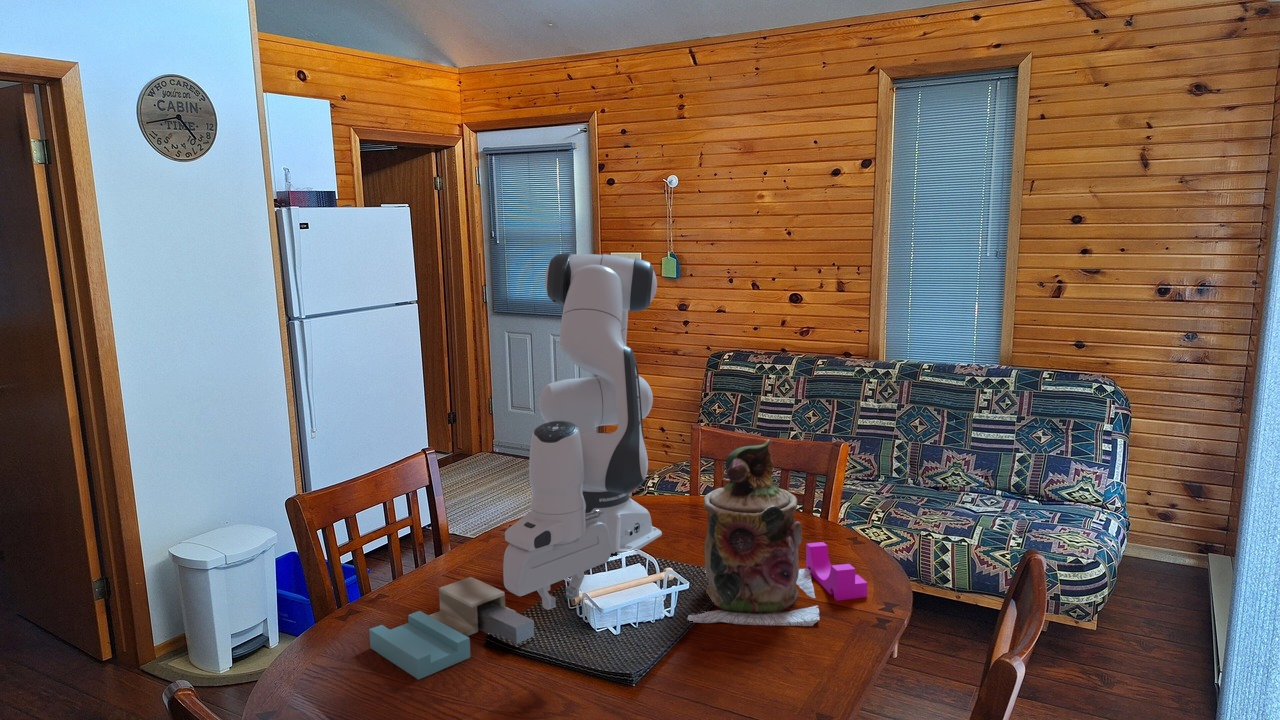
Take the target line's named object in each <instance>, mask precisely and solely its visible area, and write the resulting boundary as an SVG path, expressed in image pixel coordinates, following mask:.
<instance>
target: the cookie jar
mask: <svg viewBox="0 0 1280 720" xmlns="http://www.w3.org/2000/svg"><path fill="white" fill-rule="evenodd" d="M770 443H771V439H770V438H769V439H767V440H766V441H765V442H764V443H763V444H757V445H746V446H741V447H737V448H735V449H733V450H732V451H731V452H730V453H729V454H728V455H727V457H726V460H725V470H726V471H725V472H726V476H727V477H728V479H729V482H727V484H725V486H723V487H718V488H716V489H714V490H712V491H710V492H709V493H707V494H706V495H705V496H704V497H703V505H704V506H703V507H704V509H705V511H706V512H707V518H706V519H707V520H706V521H707V527H706V529H707V531H706V537H705V540H704V560H705V561H704V569H705V573H706V578H707V579H708V585H707V587H706V590H705V591H706V592H705V593H706V595H707V594H708V596H709V597H710V599H711V600H712V601H713V602H714V604H713V605H714V606H716V607H718V608H719V609H716V610H711V611H709V610H707V612H706V611H704V612H705V613H702V614H698V615H688V616H687V621H688V620H689V621H693V622H692V623H697V624H698V623H699V624H717V623H726V624H734V625H743V626H744V625H745V626H746V625H747V626H748V625H749V626H751V625H752V626H787V627H788V626H789V627H792V626H793V627H794V626H795V627H796V626H800V627H808V626H809V627H813V626H814V625H815V624H816V623H817V622H819V621H820V609H819V605H813V606H809V607H803V608H799V609H794V610H789V611H785V610H786V609H789V608H791V607H792V606H793V605H794V604H795V602H796V601H797V600H798V598H799V590H798V588H797V586H798V587H799V589H801V590H802V591H803V592H804V593H805V594H806V596H807V597H810V598H813V599H816V595H815V588H814V584H813V582H812V575H811V570H810V569H806V568H800V567H799V546H800V545H801V544H802V538H803V536H802V523H801V522H800V521H797V520H796V521H795V517H794V513H795V512H797V508H798V498H797V497H796V495H794V494H793V493H791V492H789V491H788V490H786V489H783V488H779V487H777V486H776V485H775V483H774V480H773V478H772V476H773V470H774V468H773V467H774V461H773V460H772V459H771V455H772V454H771V453H772V452H770V450H769V447H770ZM796 585H797V586H796ZM708 596H707V597H708ZM710 599H709V600H710Z"/></svg>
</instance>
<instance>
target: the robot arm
mask: <svg viewBox="0 0 1280 720" xmlns="http://www.w3.org/2000/svg"><path fill="white" fill-rule="evenodd" d="M544 284H545V290H546V292H547V294H546V295H547V297H548V298H549V299H550V301H552V302H553V304H556V305H560V306H563V309H562V314H561V321H560V327H559V330H560V331H559V344H560V347H561V350H562V352H563V354H564V355H565V356H566V358H567V359H568V360H569V361H570V362H571V363H572V364H574V365H575V366H576V367H578V368H579V369H581V370H584V371H585V372H587V373H591V374H593V375H595V376H594V377H593V376H592V377H591V376H590V377H576V378H565V379H562V380H561V379H560V380H557V381H554V382H551V383H548V384H546V385H545V386H544V388H543V389H542V391H541V393H540V395H539V398H538V399H539V400H538V409H539V414H540V415H541V417H542V420H544V422H545V423H542V424H541V425H538V426H537V427H536V428H534V430H533V431H532V435H531V440H530V448H529V464H528V467H529V468H528V469H529V475H528V476H529V484H530V486H531V490H532V496H531V501H530V511H529V512H527V513H526V514H525V515H524V516H523V517H521V518H520V519H519V520H518V521H517V522H515V523H513V524H512V525H511V526H509V527H508V528H507V529H506V530H505V532H504V539H505V541H506V542H507V543H509V544H508V546H507V547H505V551H504V554H503V565H502V567H503V573H502V575H503V585H504V587H505V589H506V590H507V591H508V592H510V593H511V594H513V595H515V596H518V597H522V596H523V597H524V596H525V595H528V594H531V593H533V592H536V591H537V593H538V595H539V596H540V597H541V603H542V604H541V605H542V608H543V609H545V610H547V611H549V610H551V609H554V608H556V606H557V604H556V602H557V599H556V597H555V596H553V595H551V594H550V593H549V591H551V585H553V584H555V583H559V582H561V581H563V580H565V579H568V578H571V579H570V582H569V585H568V586H566V587H565V597H566V599H568V600H569V599H570V600H571V601H572V600H574V599H577V598H579V597H580V587H581V585H582V583H583V580H584V578H585V572H586V571H588V570H591V569H594V568H596V567H597V566H598V567H599V566H601V565H604V564H605V563H607V562H609V560H610V559H611V556H612V555H611V553H615V552H617V553H622V552H626V551H630V550H634V549H639V550H641V549H642V548H644V547H645V546H647V545H648V544H650V543H652V542H653V541H655V540H656V539H658V538H660V537H661V536H662V535H663V533H662V532H663V531H662V530H660V529H659V528H657V527H655V526H653V524H652V518H651V517H652V516H651V514H650V512H649V510H648V509H647V508H645V507H644V506H643V505H641V504H639V503H638V502H637V501H635V500H633V499H632V498H631V497H630V495H629V494H630V493H633V494H634V493H637V490H638V488H639V487H640V486H641V485H642V484H643V483H644V482H645V481H646V479H647V474H648V469H649V459H648V453H647V449H646V444H645V436H644V428H643V427H644V424H643V420H644V419H645V418H647V416H648V415H649V413H650V411H651V409H652V408H653V402H654V397H653V396H654V394H653V391H652V389H651V387H650V384H649V383H648V382H647V380H646V379H644V377H642V376H640V375H639V368H638V364H637V363H638V362H637V359H636V357H635V356H636V355H635V353H634V350H633V349H632V348H631V347H630V346H627V338H628V337H627V334H628V320H629V311H630V313H635V312H642V311H645V310H646V309H647V308H649V307H650V306H651V303H652V302H653V300H654V298H655V296H656V293H657V290H658V289H657V288H658V280H657V275H656V273H655V268H654V266H653V265H652V264H651V262H649V261H647V260H643V259H640V258H637V257H636V258H635V259H633V258H630V257H625V256H622V255H621V256H620V255H614V254H605V253H603V254H594V253H593V254H591V253H578V254H577V253H574V254H572V252H565V253H558V254H556V255H554V256H553V257H552V258H551V259H550V261H549V264H548V266H547V268H546V270H545V274H544ZM615 425H617V429H616V430H615V431H614V432H609V433H608V432H606V433H605V432H602V433H601V432H597V428H598V427H601V426H602V427H603V426H615Z"/></svg>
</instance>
